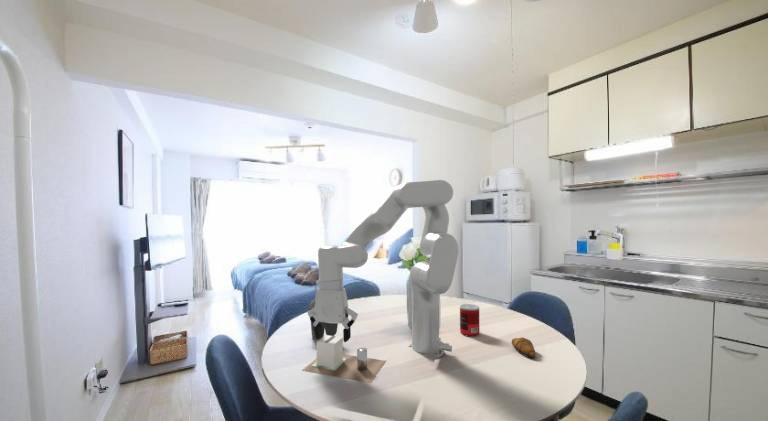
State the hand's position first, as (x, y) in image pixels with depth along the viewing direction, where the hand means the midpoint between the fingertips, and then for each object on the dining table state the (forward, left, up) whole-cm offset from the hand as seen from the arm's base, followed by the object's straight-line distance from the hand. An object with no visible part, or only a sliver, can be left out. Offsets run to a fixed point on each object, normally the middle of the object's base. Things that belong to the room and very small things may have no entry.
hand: (332, 339), depth 96 cm
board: (-5, +1, -9) cm, 10 cm away
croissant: (-59, -32, -9) cm, 68 cm away
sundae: (+8, -14, -9) cm, 19 cm away
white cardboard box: (+1, +1, -7) cm, 7 cm away
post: (-10, +1, -7) cm, 13 cm away
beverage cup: (+17, -20, -9) cm, 28 cm away
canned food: (-40, -44, -9) cm, 60 cm away
